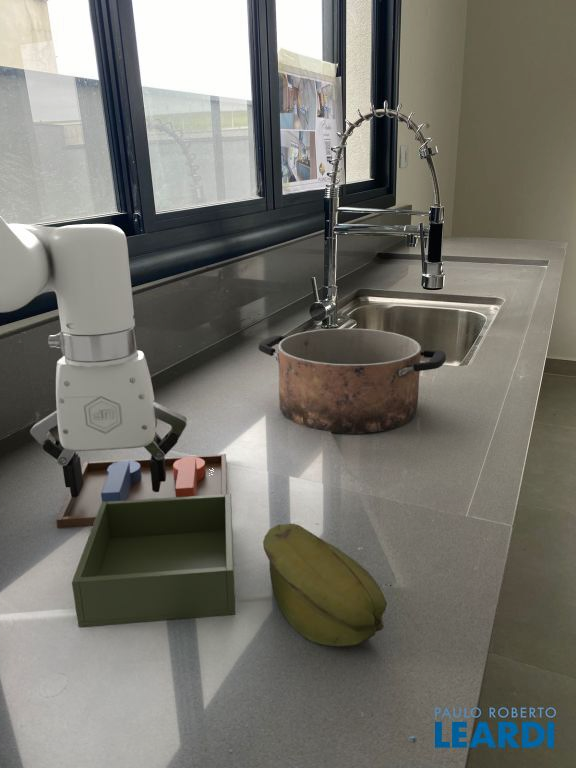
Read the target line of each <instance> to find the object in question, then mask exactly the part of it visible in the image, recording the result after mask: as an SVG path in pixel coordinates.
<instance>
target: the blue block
mask: <svg viewBox="0 0 576 768" xmlns="http://www.w3.org/2000/svg"><path fill="white" fill-rule="evenodd" d="M107 473H108V477H107V479H106V482H105V484H104V487H103V490H102V492H101V497H102V502H109V501H125V500H127V497H128V494H129V491H130V487H131V485H132V484H135V483H137V482H138V481H140V479H141V477H142V476H141V466H140V464H139V463H138V462H136V461H120V462H116V463H113V464H112V465H110V466H109V467H108V469H107Z"/></svg>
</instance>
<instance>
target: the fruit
mask: <svg viewBox="0 0 576 768" xmlns="http://www.w3.org/2000/svg"><path fill="white" fill-rule="evenodd" d="M262 544H263V550H264V553H265V555H266V557H267V560H268V561H269V575H270V582H271V587H272V592H273V596H274V599H275V602H276V604H277V606H278V608H279V610H280V612H281V613H282V615H283V617H284V618H285V620H286V621H287V622H288V623H289V625H290V626H291V627H292V628H294V630H296V632H298V633H299V634H300V635H301V636H302V637H304V639H306V640H308V641H309V642H312V643H315V644H318V645H324V646H327V647H350V646H359V645H360V644H362V643H364V642H366V641H368V640H369V639H371V638H372V637H375V635H376V633H377V632H380V631H382V630H383V629H384V621H383V615H384V613H385V611H386V608H387V604H388V602H387V600H386V597H385V595H384V593H383V591H382V589H381V587H380V585H379V584H378V583H377V581H376V580H375V578H374V577H373V576H372V575H371V574H370V573H369V571H368V570H367V569H365V568H364V567H363V566H362V565H361V564H360V563H358V562H357V560H355V559H354V558H353V557H351V556H349V555H348V554H347V553H345V552H343V551H342V550H341V549H340V548H338V547H336V546H335V545H333V544H331V543H329V542H327V541H326V540H324V539H322V538H320V537H319V536H318V535H315V534H314V533H312V532H311V531H309V530H307V529H305V528H304V527H303V526H301V525H300V524H296V523H285V524H282V523H281V524H277V525H276V526H274V527H272V528H270V529H268V531H267V533H266V534H265V535H264V537H263V541H262Z"/></svg>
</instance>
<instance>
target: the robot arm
mask: <svg viewBox="0 0 576 768" xmlns="http://www.w3.org/2000/svg"><path fill="white" fill-rule="evenodd" d="M129 259H130V257H129V248H128V241H127V236H126V234H125V232H124V231H123V230H122V229H121V228H120V227H118V226H116V225H114V224H105V223H92V224H91V223H90V224H89V223H88V224H87V223H86V224H85V223H83V224H71V225H64V226H58V227H56V226H45V225H43V226H42V225H34V224H33V225H32V224H25V223H24V224H23V223H7V221H6V220H5V219H4V218H3V217H2V216H1V215H0V313H11V312H14V311H17V310H19V309H21V308H23V307H25V306H27V305H28V304H29V303H30V302H32V300H34V299H35V298H37V297H38V296H40V295H42V294H45V293H50V292H53V293H55V296H56V300H57V301H56V302H57V309H58V316H59V324H60V329H61V330H60V331H59V332H58V333H56V334H54V335H48V339H47V340H48V342H47V343H48V347H49V349H57V350H60V352H61V354H62V356H61V358H59V359H58V360H57V362H56V369H55V370H56V371H55V401H56V403H55V406H56V409H55V410H54V411H53V412H52V413H50V414H49V415H47V416H45V417H44V418H42V419H41V420H39V421H37V422H36V423H34V425H33V426H32V427H31V429H30V431H29V433H30V435H31V436H32V437H33V438H34V440H35V441H37V443H38V444H39V445H41V446H42V450H43V451H44V452H45V453H46V454H48V455H50V456H51V457H52V458H54V459H55V460H56V461H57V465H59V466H61V467H62V472H63V478H64V480H63V481H64V486H65V488H66V489H67V488H69V493H70V492H71V497H77V496H79V494H80V491H81V489H82V487H83V476H82V469H81V468H82V463H81V456H80V455H79V453H76V452H90V451H110V450H111V451H112V450H125V449H126V450H128V449H138V448H144V449H145V450H146V451H147V452H148V453H149V454H150V458H151V459H150V471H151V481H152V491H154V492H159V490H160V485H161V482H164V481H166V469H165V457H166V455H167V454H168V453H169V452H170V451H171V450H172V449H173V448H174V447H175V446H176V445H177V443H178V441H179V439H180V437H182V434H183V433H184V430H185V429H186V427H187V425H188V418H187V417H186V416H184V415H183V414H180V413H178V412H176V411H174V410H172V409H170V408H168V407H166V406H164V405H162V404H160V403H158V402H156V401H155V400H156V399H155V394H154V389H153V383H152V378H151V374H150V370H149V367H148V362H147V358H146V356H145V354H144V353H145V352H143V351H141V350H138V340H137V330H136V319H135V311H134V310H135V309H134V301H133V289H132V280H131V270H130V269H131V268H130V260H129ZM158 420H159V421H161V422H163V423H165V424H168V425H169V426H170V427H171V428H170V430H169V431H168V432H167V433H166V434H165V436H163V437H161V436H160V435H159V434H158V433H157V432H156V429H157V426H158ZM55 427H57V431H58V438H59V439H58V438H56V437H55V436H53V435H52V433H51V432H50V431H51V430H52V429H53V428H55Z"/></svg>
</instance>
